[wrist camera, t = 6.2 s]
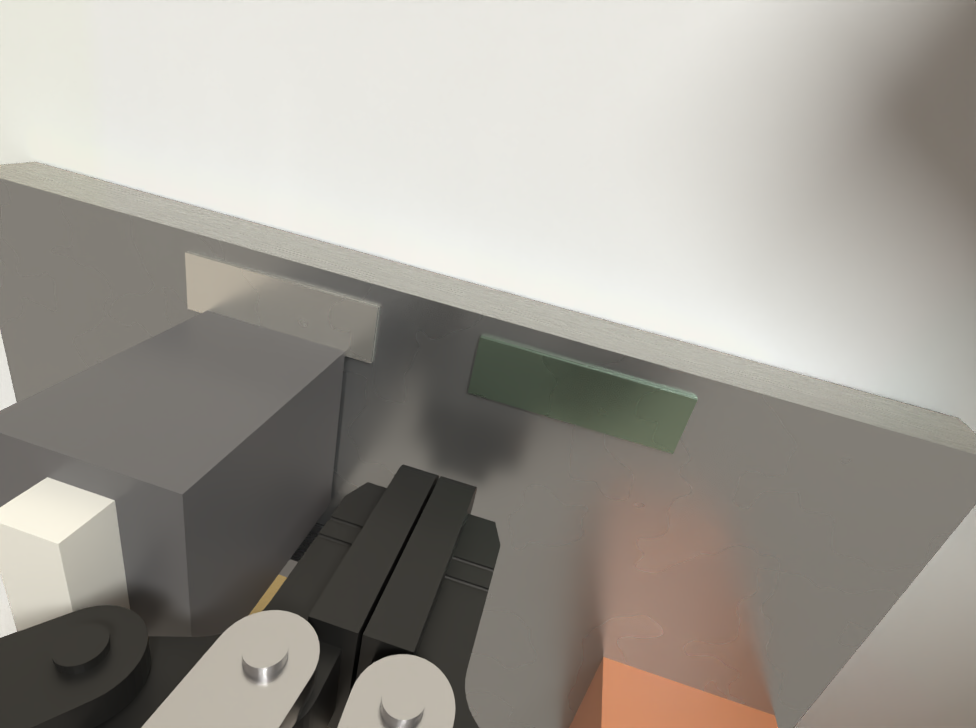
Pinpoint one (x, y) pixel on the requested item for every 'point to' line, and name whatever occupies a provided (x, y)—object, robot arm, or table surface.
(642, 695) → the cap
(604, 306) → the table surface
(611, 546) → the panel
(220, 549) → the breaker slider
